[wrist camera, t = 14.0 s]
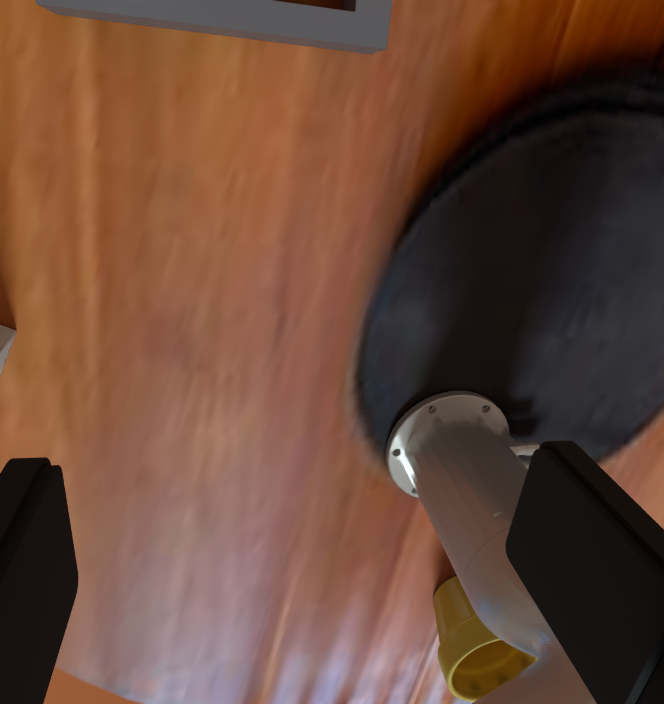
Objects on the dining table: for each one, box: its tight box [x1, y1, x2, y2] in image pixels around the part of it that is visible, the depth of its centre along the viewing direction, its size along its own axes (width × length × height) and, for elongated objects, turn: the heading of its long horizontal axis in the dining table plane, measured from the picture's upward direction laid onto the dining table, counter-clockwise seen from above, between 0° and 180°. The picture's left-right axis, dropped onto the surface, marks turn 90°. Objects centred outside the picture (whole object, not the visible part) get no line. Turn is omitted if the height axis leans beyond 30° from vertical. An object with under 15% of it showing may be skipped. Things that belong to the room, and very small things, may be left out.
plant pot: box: [433, 576, 538, 702], centre depth 58 cm, size 10×10×10 cm
